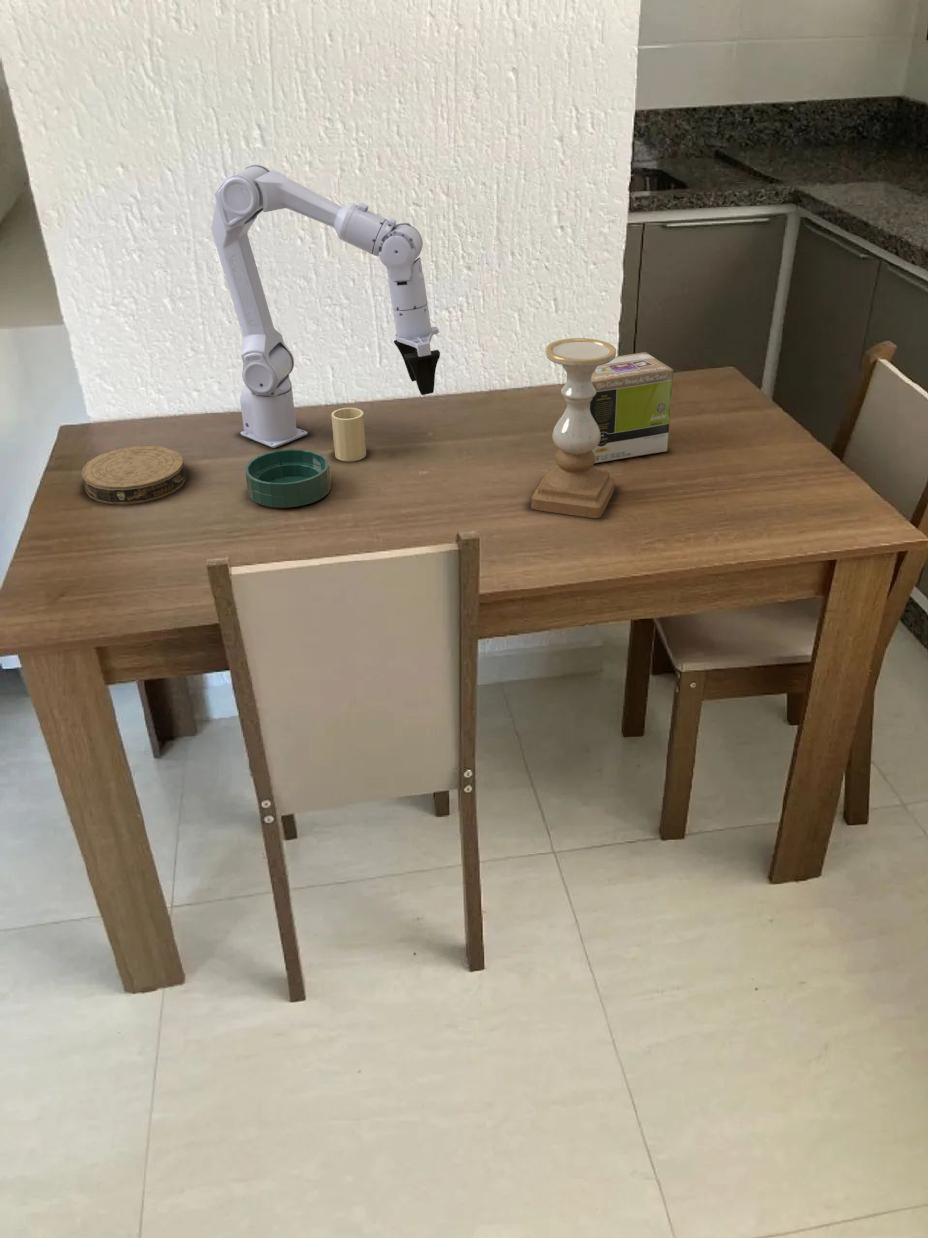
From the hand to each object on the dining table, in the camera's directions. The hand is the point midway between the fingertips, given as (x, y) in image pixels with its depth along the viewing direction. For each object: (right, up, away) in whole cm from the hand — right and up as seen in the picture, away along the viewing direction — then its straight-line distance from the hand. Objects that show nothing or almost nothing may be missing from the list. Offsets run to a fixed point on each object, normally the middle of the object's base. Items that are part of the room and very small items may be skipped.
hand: (422, 386), depth 171 cm
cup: (-12, -11, +3) cm, 17 cm away
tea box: (+33, -10, +4) cm, 35 cm away
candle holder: (+24, -20, -12) cm, 34 cm away
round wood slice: (-46, -17, -5) cm, 50 cm away
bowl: (-21, -19, -9) cm, 29 cm away
